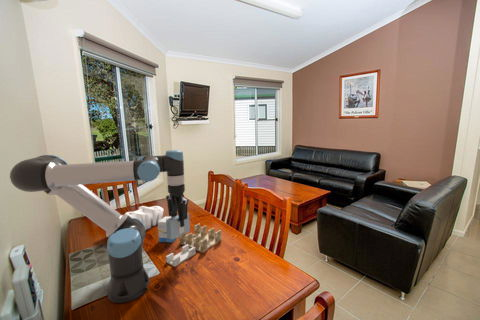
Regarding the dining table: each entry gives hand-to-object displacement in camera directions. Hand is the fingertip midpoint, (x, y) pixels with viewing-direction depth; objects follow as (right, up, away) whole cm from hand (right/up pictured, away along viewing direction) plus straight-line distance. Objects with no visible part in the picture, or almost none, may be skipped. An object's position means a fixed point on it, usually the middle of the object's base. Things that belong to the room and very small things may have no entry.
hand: (178, 231), depth 109 cm
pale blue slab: (0, -1, 0) cm, 1 cm away
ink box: (-11, -11, +22) cm, 27 cm away
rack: (+8, -11, +17) cm, 21 cm away
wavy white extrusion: (-35, -9, +38) cm, 52 cm away
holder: (+1, -13, +2) cm, 14 cm away
